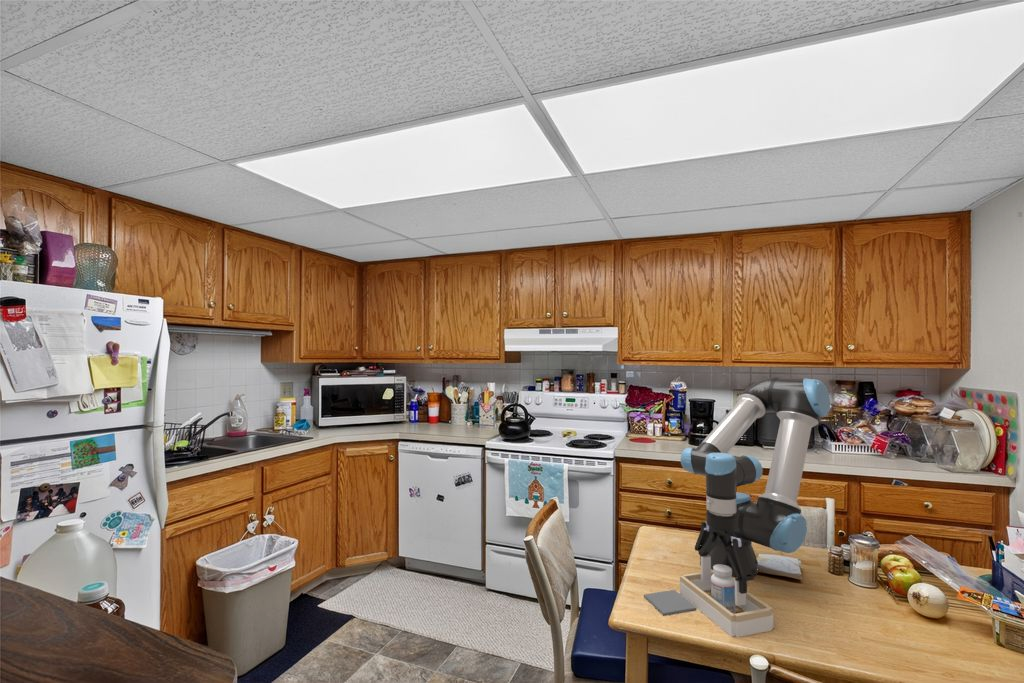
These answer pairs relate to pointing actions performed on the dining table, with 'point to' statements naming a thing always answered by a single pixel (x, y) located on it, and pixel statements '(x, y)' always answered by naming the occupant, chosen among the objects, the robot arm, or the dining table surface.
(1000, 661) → the dining table surface
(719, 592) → the pill bottle
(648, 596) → the coaster
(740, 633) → the beige frame
